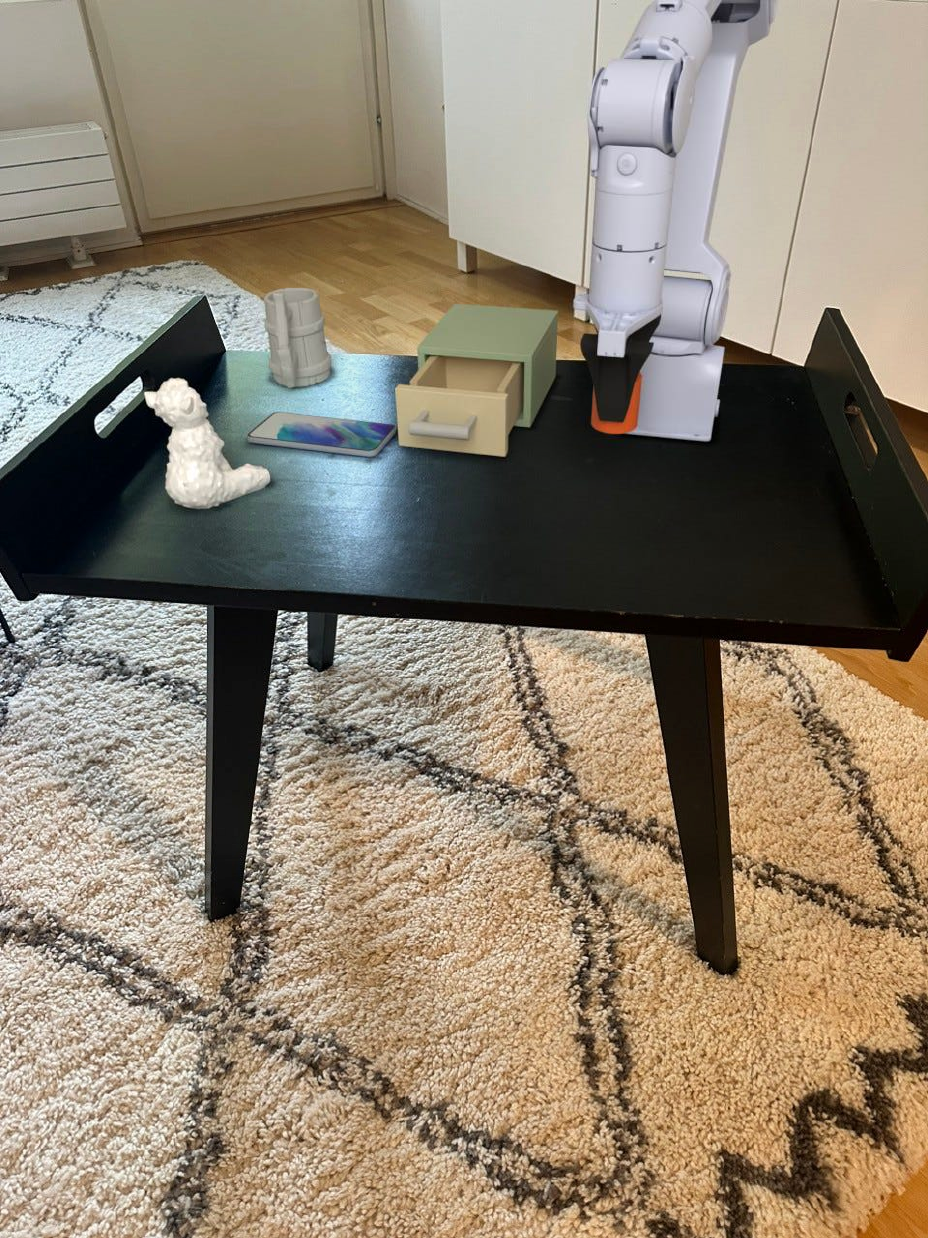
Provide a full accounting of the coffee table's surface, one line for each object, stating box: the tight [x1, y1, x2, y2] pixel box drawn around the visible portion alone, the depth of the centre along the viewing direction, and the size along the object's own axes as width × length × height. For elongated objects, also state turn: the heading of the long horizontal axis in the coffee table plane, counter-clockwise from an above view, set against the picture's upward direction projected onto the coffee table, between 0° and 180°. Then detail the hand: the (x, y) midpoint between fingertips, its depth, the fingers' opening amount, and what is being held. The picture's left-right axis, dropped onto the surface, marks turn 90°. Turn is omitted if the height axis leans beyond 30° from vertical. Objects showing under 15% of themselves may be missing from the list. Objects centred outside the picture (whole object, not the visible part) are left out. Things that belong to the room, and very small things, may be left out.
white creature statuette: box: [143, 377, 271, 510], centre depth 84 cm, size 10×9×12 cm
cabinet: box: [416, 303, 559, 428], centre depth 102 cm, size 15×13×8 cm
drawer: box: [394, 355, 524, 458], centre depth 93 cm, size 18×11×6 cm, turn 164°
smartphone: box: [246, 411, 398, 458], centre depth 97 cm, size 7×1×15 cm
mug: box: [263, 287, 333, 388], centre depth 106 cm, size 8×12×12 cm, turn 178°
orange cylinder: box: [590, 372, 642, 435], centre depth 76 cm, size 4×4×5 cm
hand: (615, 408), depth 77 cm, fingers closed on orange cylinder, 4 cm apart
